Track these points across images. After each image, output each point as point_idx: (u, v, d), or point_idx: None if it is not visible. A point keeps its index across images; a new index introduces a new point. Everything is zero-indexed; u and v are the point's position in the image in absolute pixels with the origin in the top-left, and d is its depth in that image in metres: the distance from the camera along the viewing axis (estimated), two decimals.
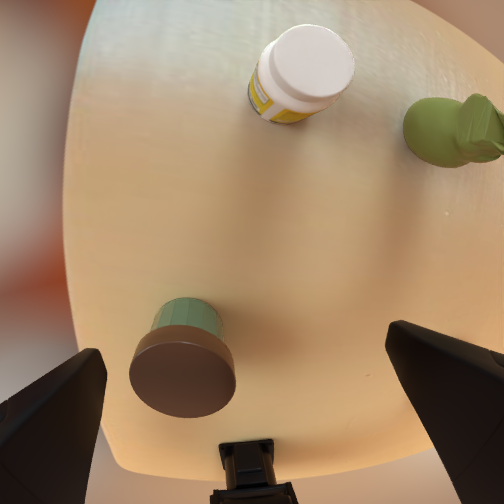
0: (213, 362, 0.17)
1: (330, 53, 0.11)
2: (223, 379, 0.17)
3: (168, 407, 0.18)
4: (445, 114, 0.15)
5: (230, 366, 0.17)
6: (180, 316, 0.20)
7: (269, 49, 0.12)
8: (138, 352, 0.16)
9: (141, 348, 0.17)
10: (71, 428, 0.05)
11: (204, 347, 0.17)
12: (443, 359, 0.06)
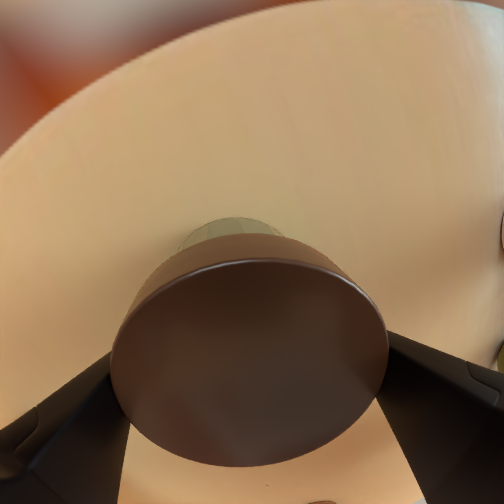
0: (353, 406, 0.07)
1: None
2: (312, 438, 0.07)
3: (149, 401, 0.06)
4: None
5: None
6: None
7: None
8: (306, 260, 0.06)
9: (316, 260, 0.06)
10: (104, 433, 0.05)
11: (384, 375, 0.07)
12: (413, 370, 0.06)
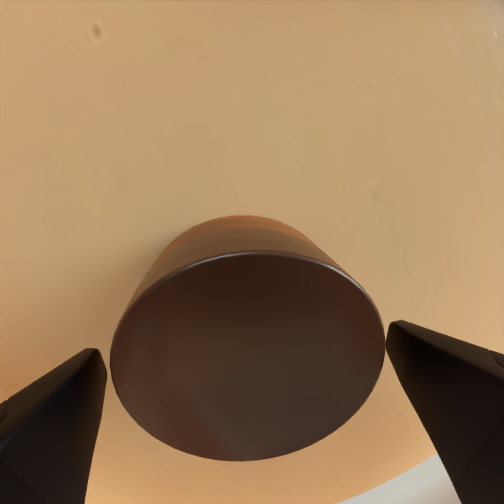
0: (350, 400, 0.07)
1: None
2: (310, 432, 0.07)
3: (148, 393, 0.06)
4: None
5: None
6: None
7: None
8: (302, 253, 0.06)
9: (312, 254, 0.06)
10: (71, 428, 0.05)
11: (381, 368, 0.07)
12: (443, 359, 0.06)
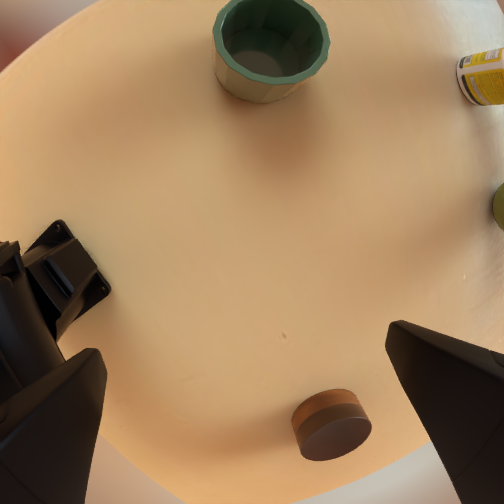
0: (361, 440, 0.23)
1: None
2: (348, 449, 0.23)
3: (310, 447, 0.22)
4: None
5: None
6: None
7: None
8: (354, 415, 0.21)
9: (356, 414, 0.22)
10: (71, 428, 0.05)
11: None
12: (443, 359, 0.06)
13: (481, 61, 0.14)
